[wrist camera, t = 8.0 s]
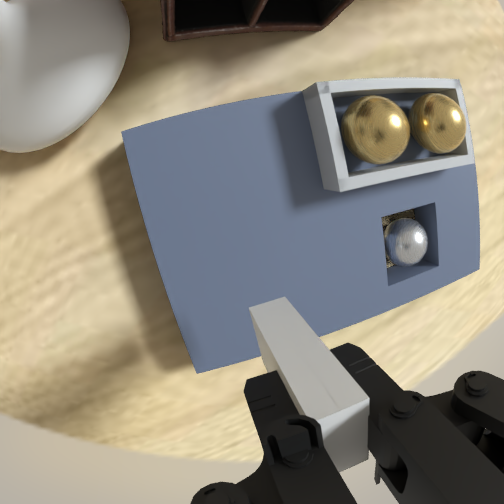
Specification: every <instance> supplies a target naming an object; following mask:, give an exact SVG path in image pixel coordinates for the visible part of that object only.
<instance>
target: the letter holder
mask: <svg viewBox="0 0 504 504" xmlns="http://www.w3.org/2000/svg"><path fill="white" fill-rule="evenodd" d="M353 1H354V0H161V11H162V25H163V39H164V40H165V41H176V40H182V39H189V38H197V37H204V36H213V35H221V34H233V33H245V32H261V31H262V32H265V31H299V30H300V31H321V30H322V29H324V28H325V27H326V26H327V25H329V24H330V23H331V22H332V21H333V20H334V19H335V18H336V17H338V15H339V14H340V13H341V12H342V11H343V10H344V9H345V8H346V7H347V6H349V5H350V4H351V3H352V2H353Z"/></svg>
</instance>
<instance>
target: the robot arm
mask: <svg viewBox="0 0 504 504" xmlns="http://www.w3.org/2000/svg"><path fill="white" fill-rule="evenodd" d="M249 311H250V314H251V318H252V322H253V326H254V330H255V333H256V337H257V341H258V345H259V348H260V352H261V356H262V360H263V363H264V365H265V367H266V369H267V371H268V373H266V374H263V375H260V376H257V377H253V378H250V379H247V380H246V384H245V388H244V394H245V397H246V400H247V403H248V406H249V409H250V412H251V415H252V418H253V421H254V424H255V427H256V429H257V432H258V435H259V438H260V441H261V444H262V448H263V451H264V456H263V461H262V463H261V465H260V466H259V468H258V469H257V470H256V471H255V472H254V473H253V474H251V475H250V476H249V477H247V478H245V479H244V480H242V481H240V482H238V483H237V484H233V483H228V482H218V483H213V484H209V485H207V486H205V487H203V488H202V489H200V490H199V491H198V492H197V493H196V494H195V495H194V497H193V499H192V501H191V504H357V503H356V501H355V499H354V497H353V496H352V494H351V493H350V491H349V489H348V488H347V486H346V484H345V482H344V481H343V479H342V477H341V475H340V473H339V472H341V471H343V470H346V469H348V468H350V467H352V466H355V465H357V464H359V463H361V462H363V461H366V460H368V455H369V454H368V453H369V450H370V452H371V453H372V454H373V456H374V457H375V459H376V467H375V478H374V479H375V482H376V484H379V483H380V477H381V478H382V479H383V481H384V482H385V484H386V485H387V487H388V488H389V490H390V491H391V493H392V494H393V495H394V497H395V498H396V500H397V501H398V503H399V504H504V380H503V379H501V378H498V377H496V376H494V375H492V374H489V373H486V372H482V371H470V372H467V373H465V374H463V375H462V376H460V377H459V378H458V379H457V381H456V383H455V385H454V389H453V390H451V391H448V392H445V393H441V394H438V395H434V396H429V397H424V396H423V395H421V394H419V393H418V392H414V391H404V390H402V389H401V388H400V387H399V386H398V385H397V384H396V383H395V382H394V381H393V380H392V379H391V378H390V377H389V376H388V375H387V374H386V373H385V372H384V371H383V370H382V369H381V368H380V367H379V366H378V365H376V363H375V362H374V361H373V360H372V359H371V358H370V357H369V356H368V355H367V354H366V353H365V352H364V351H363V350H362V349H361V348H360V347H357V346H355V345H353V344H350V343H346V344H343V345H341V346H338V347H336V348H333V349H331V350H329V349H328V348H327V346H326V345H325V344H324V343H323V342H322V340H321V339H320V338H319V337H318V336H317V334H316V333H315V332H314V331H313V330H312V328H311V327H310V326H309V325H308V324H307V322H306V321H305V320H304V319H303V318H302V316H301V315H300V314H299V313H298V312H297V310H296V309H295V308H294V307H293V306H292V304H291V303H290V302H289V301H288V300H287V298H286V297H282V298H278V299H275V300H272V301H269V302H266V303H262V304H259V305H256V306H253V307H249ZM485 428H486V429H485Z"/></svg>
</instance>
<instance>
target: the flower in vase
mask: <svg viewBox="0 0 504 504" xmlns="http://www.w3.org/2000/svg"><path fill="white" fill-rule="evenodd" d="M129 42H130V26H129V19H128V15H127V12H126V9H125V7H124V5H123V3H122V2H121V0H9V1H8V2H5V1H4V0H0V150H3V151H7V152H14V153H24V152H32V151H36V150H40V149H43V148H46V147H48V146H51V145H53V144H55V143H57V142H59V141H60V140H62V139H64V138H66V137H67V136H68V135H70V134H71V133H73V132H74V131H76V130H77V129H78V128H79V127H80V126H82V125H83V124H84V123H85V122H86V121H87V120H88V119H89V118H90V117H91V116H92V115H93V114H94V113H95V112H96V111H97V109H98V108H99V107H100V106H101V105H102V103H103V102H104V101H105V99H106V98H107V96H108V95H109V93H110V92H111V91H112V89H113V87H114V85H115V83H116V82H117V80H118V78H119V76H120V73H121V71H122V69H123V66H124V63H125V60H126V57H127V53H128V48H129Z"/></svg>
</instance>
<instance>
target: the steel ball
mask: <svg viewBox="0 0 504 504" xmlns="http://www.w3.org/2000/svg"><path fill="white" fill-rule="evenodd" d="M383 235H384V245H385V255H386V257H387V258H388V259H389V260H390V261H391V262H392V263H394V264H396V265H398V266H403V267H407V266H412V265H414V264H416V263H418V262H419V261H420V260H421V259H422V258H423V257H424V255H425V253H426V251H427V247H428V238H427V234H426V231H425V230H424V228H423V227H422V225H421V224H419V223H418V222H417V221H415V220H413V219H410V218H400V219H396V220H394V221H393V222H391V223H390V224H389V225H388V226H387V227H386V229H385V231H384V233H383Z"/></svg>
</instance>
